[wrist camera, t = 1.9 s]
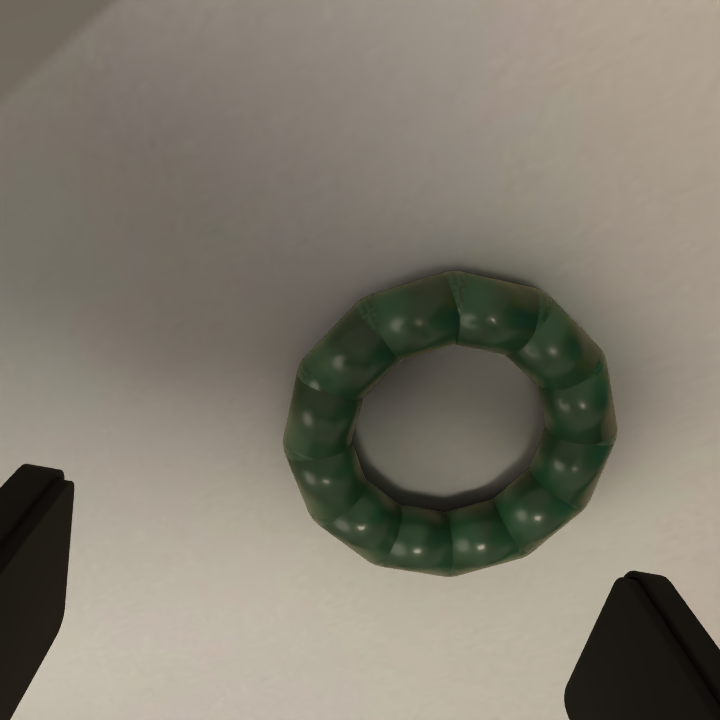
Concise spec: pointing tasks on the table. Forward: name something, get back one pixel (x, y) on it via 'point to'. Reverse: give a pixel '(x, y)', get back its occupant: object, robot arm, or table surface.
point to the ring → (421, 335)
